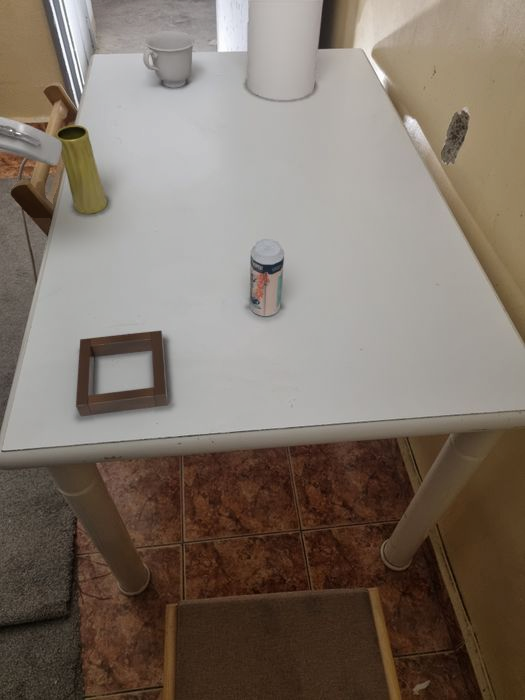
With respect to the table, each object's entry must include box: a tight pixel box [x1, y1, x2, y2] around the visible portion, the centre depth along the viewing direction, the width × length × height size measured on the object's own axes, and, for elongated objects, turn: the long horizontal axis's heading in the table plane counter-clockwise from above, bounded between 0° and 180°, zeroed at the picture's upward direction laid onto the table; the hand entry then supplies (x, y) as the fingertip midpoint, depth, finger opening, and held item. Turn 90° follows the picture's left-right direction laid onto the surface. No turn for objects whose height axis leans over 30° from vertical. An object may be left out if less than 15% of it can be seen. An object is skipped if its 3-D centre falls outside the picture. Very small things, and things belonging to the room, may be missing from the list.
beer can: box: [249, 238, 285, 317], centre depth 77 cm, size 5×5×12 cm
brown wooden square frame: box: [75, 330, 169, 417], centre depth 72 cm, size 12×12×2 cm
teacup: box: [142, 30, 196, 89], centre depth 127 cm, size 12×15×10 cm
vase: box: [55, 124, 108, 215], centre depth 93 cm, size 6×6×14 cm
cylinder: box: [246, 0, 324, 101], centre depth 122 cm, size 17×17×28 cm
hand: (27, 150), depth 80 cm, fingers open, 8 cm apart
